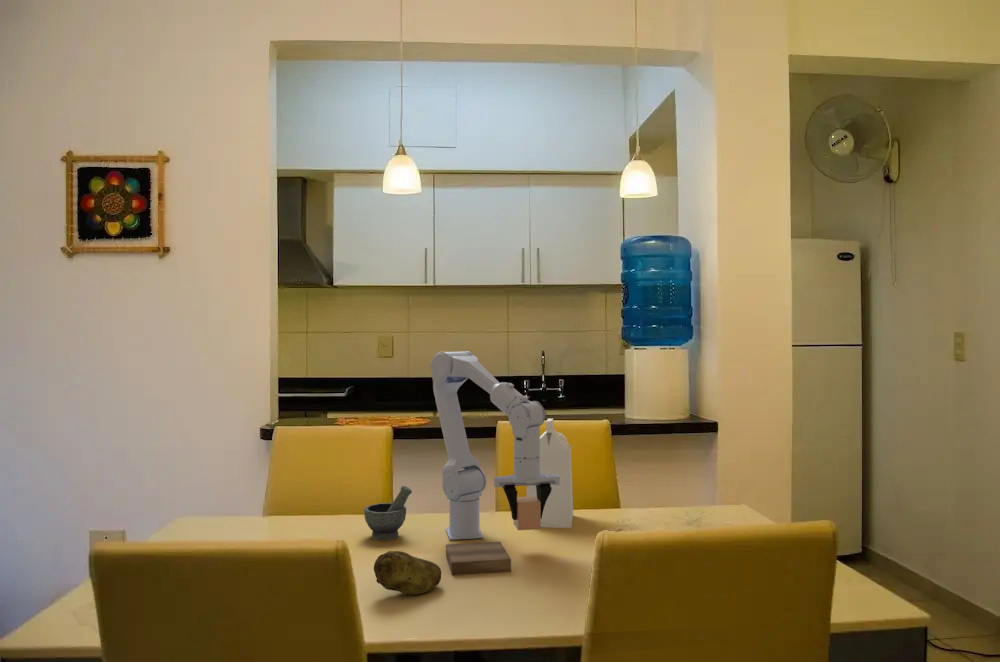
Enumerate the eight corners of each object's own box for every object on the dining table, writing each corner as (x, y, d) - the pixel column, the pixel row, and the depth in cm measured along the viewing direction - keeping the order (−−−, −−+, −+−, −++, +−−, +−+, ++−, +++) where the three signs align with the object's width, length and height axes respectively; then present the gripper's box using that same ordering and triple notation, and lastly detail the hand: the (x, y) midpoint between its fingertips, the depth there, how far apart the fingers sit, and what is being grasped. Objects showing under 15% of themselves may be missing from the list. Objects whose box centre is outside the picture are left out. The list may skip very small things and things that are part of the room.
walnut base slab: (445, 556, 151) (445, 544, 151) (500, 553, 153) (500, 541, 153) (451, 575, 139) (451, 562, 139) (510, 571, 141) (510, 559, 141)
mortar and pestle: (361, 543, 161) (361, 491, 161) (366, 531, 170) (366, 482, 170) (410, 542, 161) (410, 490, 161) (413, 530, 171) (413, 481, 171)
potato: (446, 598, 127) (446, 554, 127) (374, 604, 124) (374, 559, 124) (439, 582, 135) (439, 541, 135) (372, 588, 132) (372, 545, 132)
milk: (529, 514, 186) (529, 416, 186) (573, 515, 185) (573, 417, 185) (525, 526, 174) (525, 422, 175) (571, 528, 173) (571, 423, 173)
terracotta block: (513, 524, 156) (513, 497, 156) (535, 522, 157) (535, 496, 157) (518, 530, 151) (518, 502, 151) (540, 529, 152) (540, 501, 152)
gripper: (497, 461, 149) (497, 524, 149) (563, 459, 152) (563, 521, 152) (492, 455, 156) (492, 516, 156) (555, 453, 159) (555, 513, 159)
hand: (526, 518), depth 154 cm, fingers closed on terracotta block, 5 cm apart
